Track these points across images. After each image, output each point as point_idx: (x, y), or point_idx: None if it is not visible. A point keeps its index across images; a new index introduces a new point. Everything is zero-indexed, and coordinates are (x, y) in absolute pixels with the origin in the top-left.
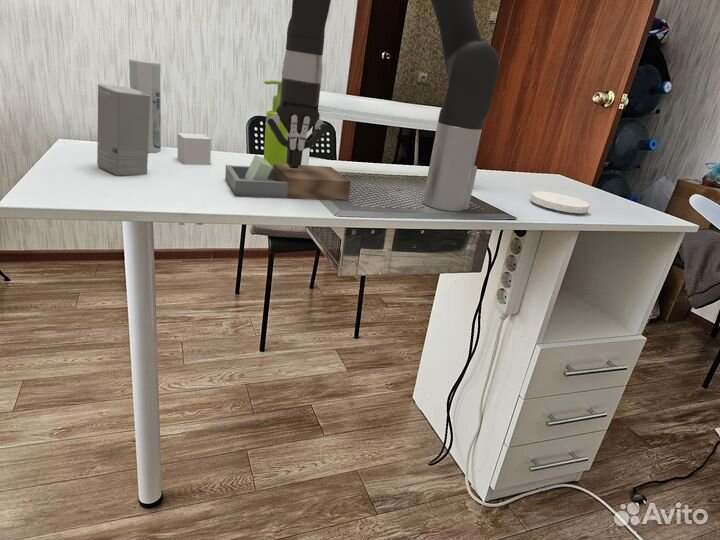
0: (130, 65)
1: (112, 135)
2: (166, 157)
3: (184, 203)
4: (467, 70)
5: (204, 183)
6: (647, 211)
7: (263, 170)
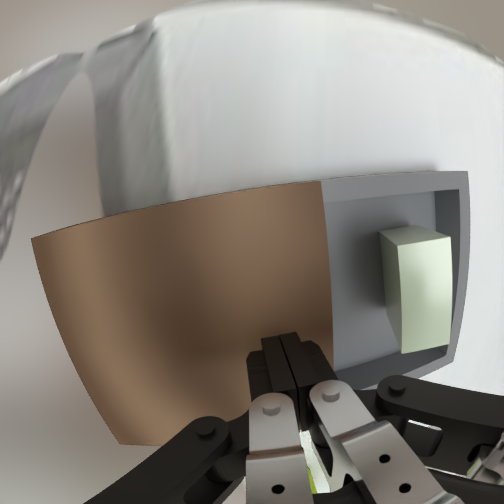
0: None
1: None
2: None
3: (494, 108)
4: None
5: (474, 282)
6: None
7: (419, 237)
